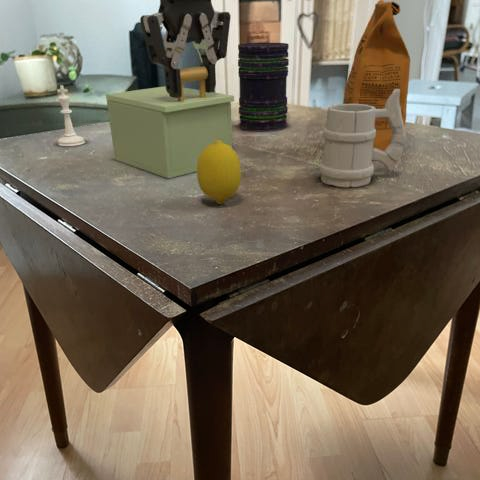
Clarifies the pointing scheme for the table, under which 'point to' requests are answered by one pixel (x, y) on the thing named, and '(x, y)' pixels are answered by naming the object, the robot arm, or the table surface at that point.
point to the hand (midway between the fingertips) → (191, 94)
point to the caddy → (167, 136)
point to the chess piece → (68, 122)
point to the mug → (359, 142)
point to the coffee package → (380, 69)
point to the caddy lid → (165, 103)
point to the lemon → (219, 171)
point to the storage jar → (263, 86)
